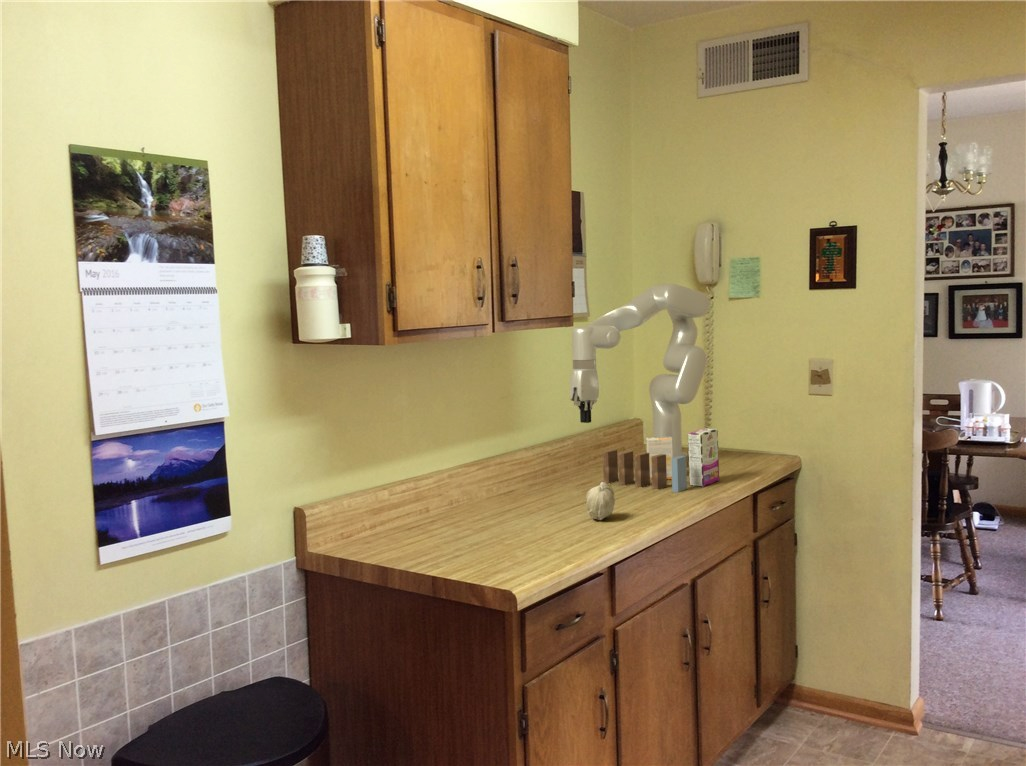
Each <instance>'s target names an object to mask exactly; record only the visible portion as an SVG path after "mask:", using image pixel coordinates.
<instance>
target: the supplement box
mask: <svg viewBox="0 0 1026 766" xmlns="http://www.w3.org/2000/svg"><path fill="white" fill-rule="evenodd" d="M645 442H646V443H645V445H646V453H649V461H650V479H652V460H651V456H655V455H658V454H666V472H667V480H672V463H671V458H673V439H672V438H671V437H646V438H645Z"/></svg>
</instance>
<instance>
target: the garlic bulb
mask: <svg viewBox="0 0 1026 766" xmlns="http://www.w3.org/2000/svg"><path fill="white" fill-rule="evenodd" d="M585 501H586V505H585V506H586V512H587V514H588V515H589V516H590V518H592V519H593V520H595V519H597V520H598V521H602V520H603V519H605V518H608V517H609V516H611V515H613V511H614V510H615V508H614V507H615V503H616V499H615V491H614V489H613V488H612V487H611V485H609V484H607V483H605V482H604V481H601V482H600V484H599V485H597V486H594V487H592V488H589V490H588V491H587V493H586V494H585Z"/></svg>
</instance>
